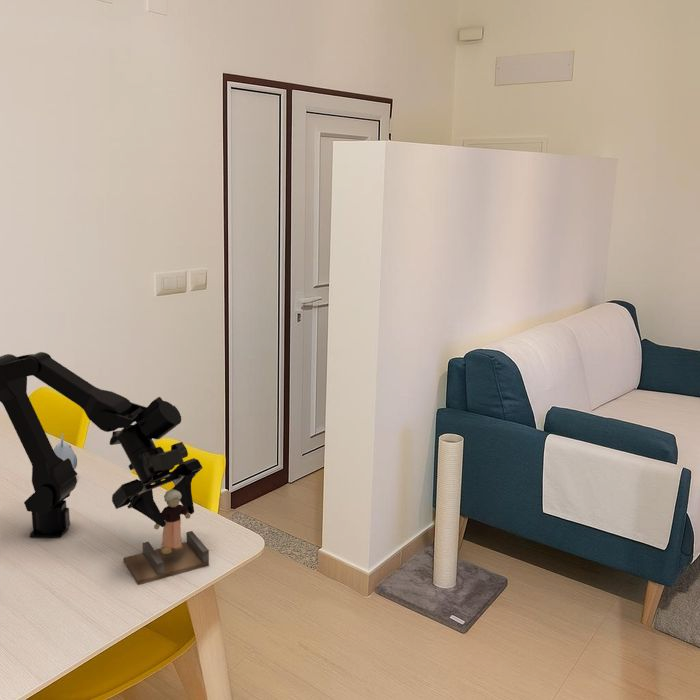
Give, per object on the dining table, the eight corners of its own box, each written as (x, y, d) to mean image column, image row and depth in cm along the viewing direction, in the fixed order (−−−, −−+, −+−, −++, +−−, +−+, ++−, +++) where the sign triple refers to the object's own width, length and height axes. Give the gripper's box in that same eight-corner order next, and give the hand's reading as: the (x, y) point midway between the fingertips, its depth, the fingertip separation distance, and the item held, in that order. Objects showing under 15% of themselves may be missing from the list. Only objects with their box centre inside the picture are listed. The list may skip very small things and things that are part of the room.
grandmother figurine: (164, 558, 141) (164, 499, 138) (151, 551, 143) (150, 493, 140) (195, 543, 147) (194, 486, 144) (182, 537, 149) (181, 480, 146)
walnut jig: (138, 584, 138) (137, 568, 137) (123, 561, 145) (122, 546, 144) (208, 565, 145) (208, 550, 144) (191, 544, 153) (191, 529, 152)
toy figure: (77, 488, 176) (75, 442, 173) (50, 491, 174) (47, 444, 171) (78, 471, 186) (76, 426, 183) (52, 473, 184) (49, 428, 181)
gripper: (119, 445, 135) (158, 519, 131) (196, 421, 149) (234, 486, 146) (95, 472, 141) (132, 543, 137) (171, 446, 156) (206, 510, 152)
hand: (178, 519), depth 143 cm, fingers closed on grandmother figurine, 7 cm apart
